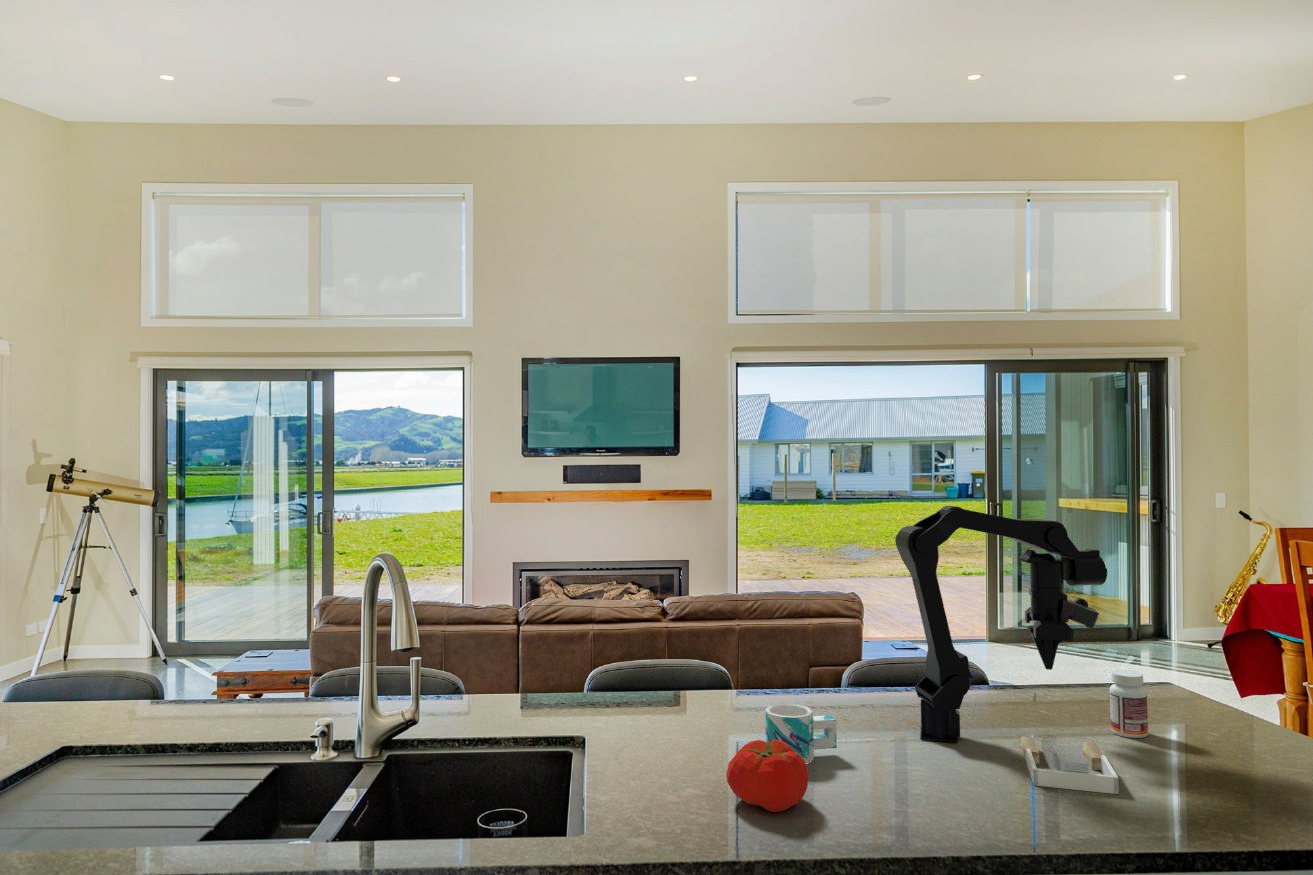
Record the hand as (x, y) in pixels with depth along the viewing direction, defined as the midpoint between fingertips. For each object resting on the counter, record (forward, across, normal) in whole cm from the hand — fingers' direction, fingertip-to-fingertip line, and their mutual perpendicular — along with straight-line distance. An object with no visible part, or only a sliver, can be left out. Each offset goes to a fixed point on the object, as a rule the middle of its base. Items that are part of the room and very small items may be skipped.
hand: (1048, 669), depth 156 cm
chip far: (+12, -21, 0) cm, 24 cm away
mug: (+12, -26, +43) cm, 52 cm away
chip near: (+12, -25, 0) cm, 28 cm away
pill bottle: (+12, +4, -14) cm, 19 cm away
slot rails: (+12, -14, 0) cm, 18 cm away
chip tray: (+12, -23, 0) cm, 26 cm away
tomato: (+12, -47, +45) cm, 66 cm away
